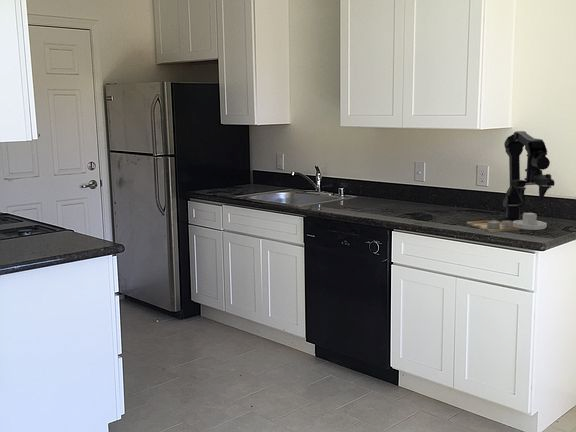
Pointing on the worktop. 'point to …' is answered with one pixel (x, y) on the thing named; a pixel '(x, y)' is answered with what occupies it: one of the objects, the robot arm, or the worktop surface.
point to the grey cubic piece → (507, 224)
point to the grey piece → (493, 225)
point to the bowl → (538, 225)
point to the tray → (483, 226)
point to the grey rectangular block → (529, 219)
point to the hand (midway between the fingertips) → (531, 201)
